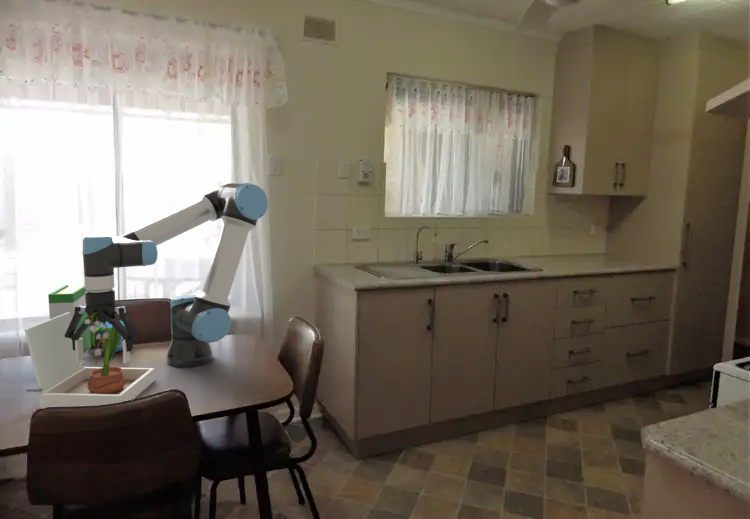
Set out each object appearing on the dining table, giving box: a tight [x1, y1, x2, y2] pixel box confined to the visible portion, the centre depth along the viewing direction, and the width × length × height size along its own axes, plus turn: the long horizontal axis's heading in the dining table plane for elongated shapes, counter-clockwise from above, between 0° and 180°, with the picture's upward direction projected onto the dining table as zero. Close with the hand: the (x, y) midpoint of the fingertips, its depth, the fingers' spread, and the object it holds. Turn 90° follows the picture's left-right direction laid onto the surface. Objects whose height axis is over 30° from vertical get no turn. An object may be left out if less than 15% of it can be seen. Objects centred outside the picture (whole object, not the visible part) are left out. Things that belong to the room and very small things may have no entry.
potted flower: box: [84, 312, 126, 394], centre depth 150 cm, size 12×10×25 cm
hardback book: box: [48, 284, 92, 354], centre depth 183 cm, size 18×7×24 cm, turn 15°
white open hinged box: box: [23, 312, 156, 409], centre depth 150 cm, size 26×22×22 cm
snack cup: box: [90, 320, 126, 354], centre depth 190 cm, size 16×10×10 cm
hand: (103, 361), depth 150 cm, fingers open, 13 cm apart
